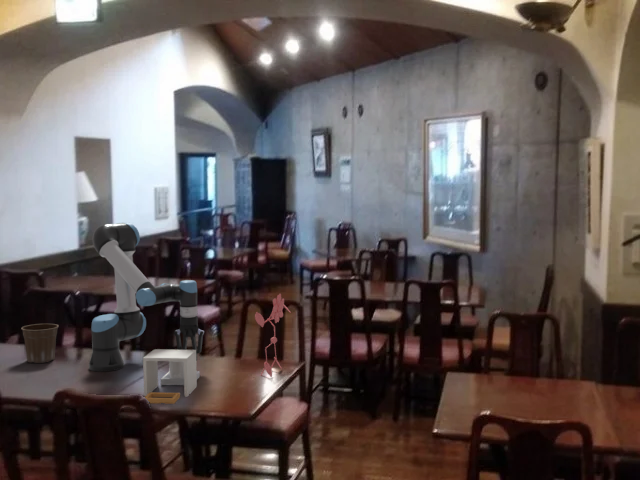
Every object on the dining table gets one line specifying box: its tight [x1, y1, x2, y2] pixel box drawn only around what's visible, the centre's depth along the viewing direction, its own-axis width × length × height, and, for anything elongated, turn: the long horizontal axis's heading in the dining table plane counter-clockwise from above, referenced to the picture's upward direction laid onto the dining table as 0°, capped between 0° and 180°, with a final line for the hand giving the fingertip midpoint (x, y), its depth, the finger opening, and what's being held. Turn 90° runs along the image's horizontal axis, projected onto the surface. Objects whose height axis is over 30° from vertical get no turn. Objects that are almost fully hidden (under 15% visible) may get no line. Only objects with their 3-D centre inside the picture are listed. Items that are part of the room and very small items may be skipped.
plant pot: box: [20, 323, 59, 364], centre depth 334 cm, size 16×16×16 cm
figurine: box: [252, 293, 296, 379], centre depth 306 cm, size 15×26×35 cm, turn 158°
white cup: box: [168, 361, 184, 379], centre depth 295 cm, size 8×8×10 cm
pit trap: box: [144, 391, 181, 405], centre depth 272 cm, size 8×12×2 cm, turn 85°
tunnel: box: [142, 348, 198, 398], centre depth 283 cm, size 14×17×15 cm
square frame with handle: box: [160, 370, 201, 386], centre depth 303 cm, size 24×13×9 cm, turn 175°
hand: (190, 368), depth 313 cm, fingers closed on square frame with handle, 2 cm apart
